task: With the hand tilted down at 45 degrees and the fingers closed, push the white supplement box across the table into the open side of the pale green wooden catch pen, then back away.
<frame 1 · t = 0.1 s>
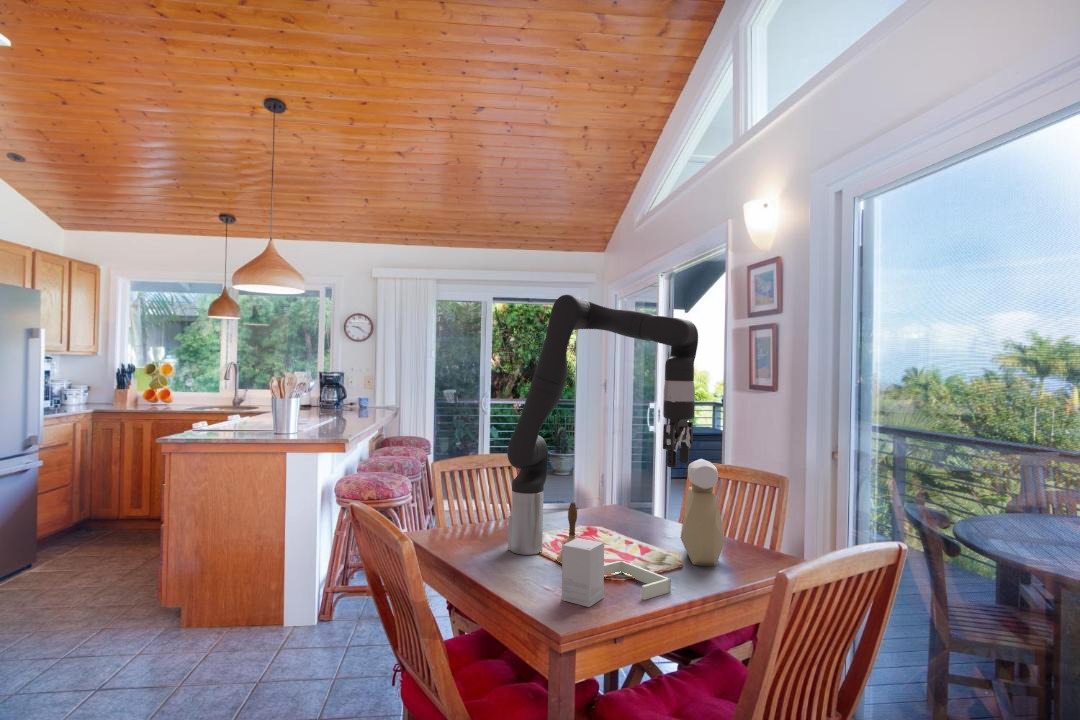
hand: (678, 464, 144), 29 cm above the table, tool pointing down, fingers open, 8 cm apart
catch pen: (626, 586, 141), on the table
perfume bottle: (702, 560, 163), on the table
supplement box: (582, 600, 133), on the table
hand bell: (571, 561, 160), on the table
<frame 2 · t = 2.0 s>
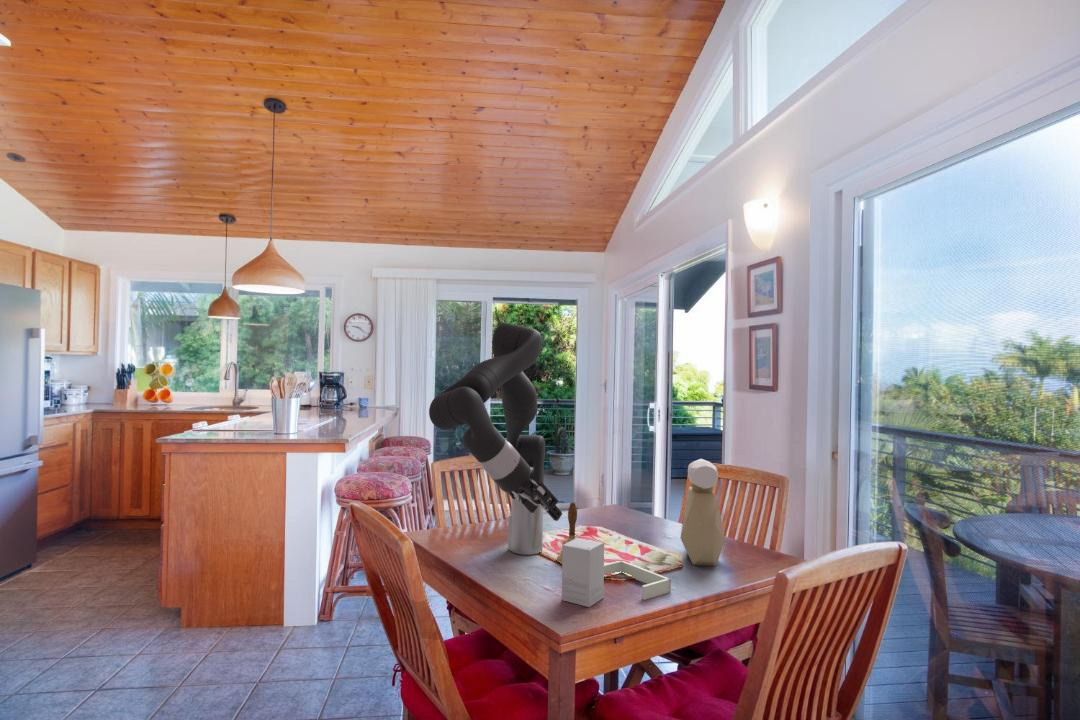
hand: (546, 513, 126), 21 cm above the table, tool tilted 45°, fingers open, 8 cm apart
nothing on the table moved.
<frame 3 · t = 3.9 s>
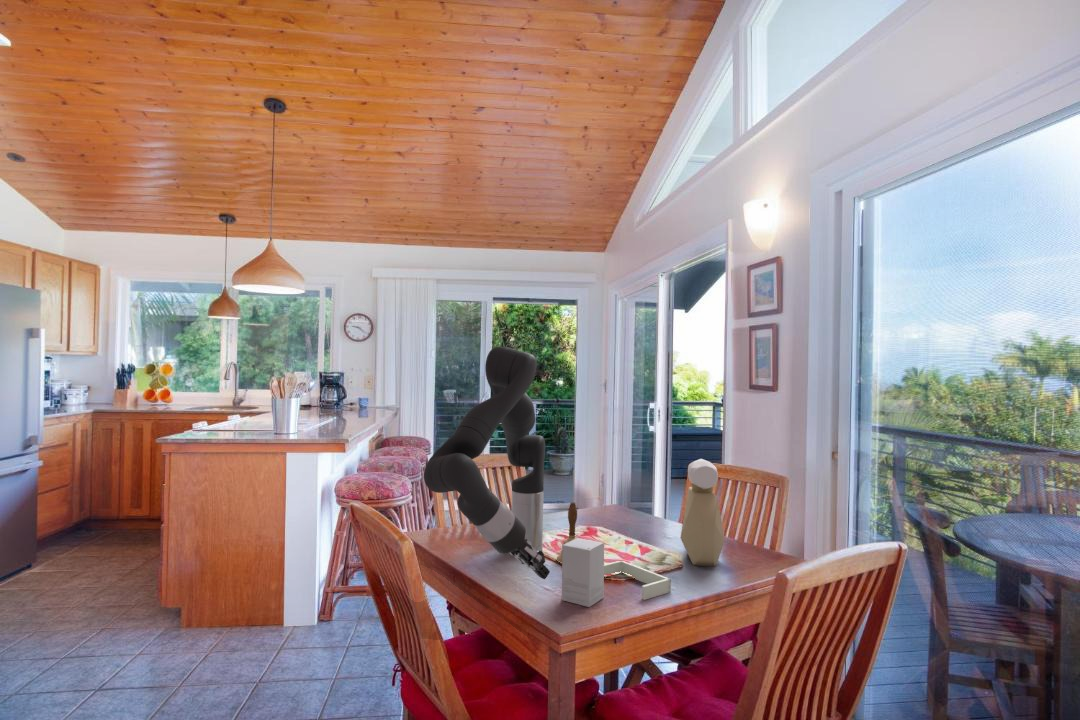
hand: (545, 574, 126), 8 cm above the table, tool tilted 45°, fingers closed
nothing on the table moved.
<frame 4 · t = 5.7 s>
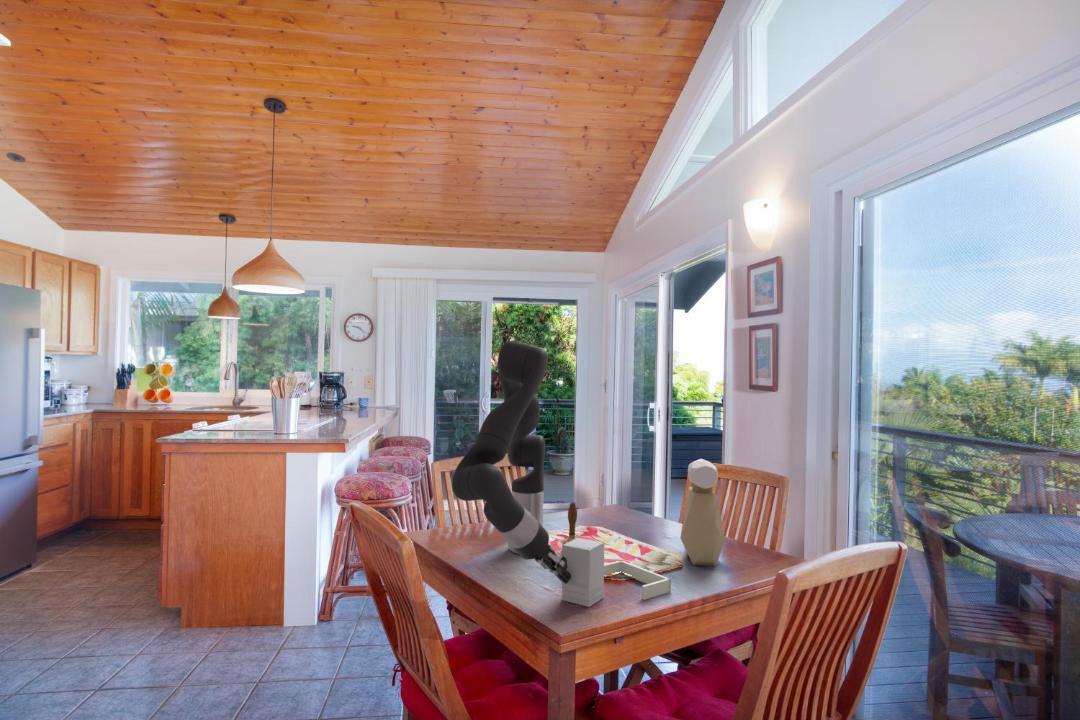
hand: (567, 579, 130), 5 cm above the table, tool tilted 45°, fingers closed
supplement box: (582, 599, 133), on the table, touching gripper
everything else where it was.
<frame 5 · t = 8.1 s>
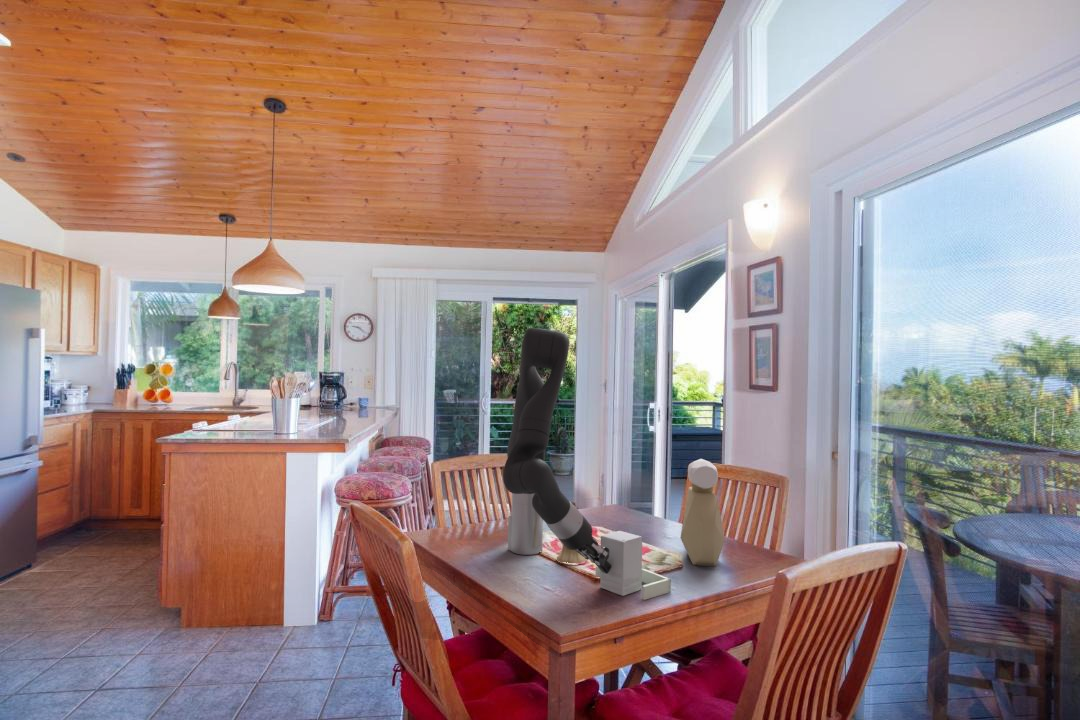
hand: (607, 569, 137), 5 cm above the table, tool tilted 45°, fingers closed
supplement box: (620, 589, 140), on the table, touching gripper
everything else where it was.
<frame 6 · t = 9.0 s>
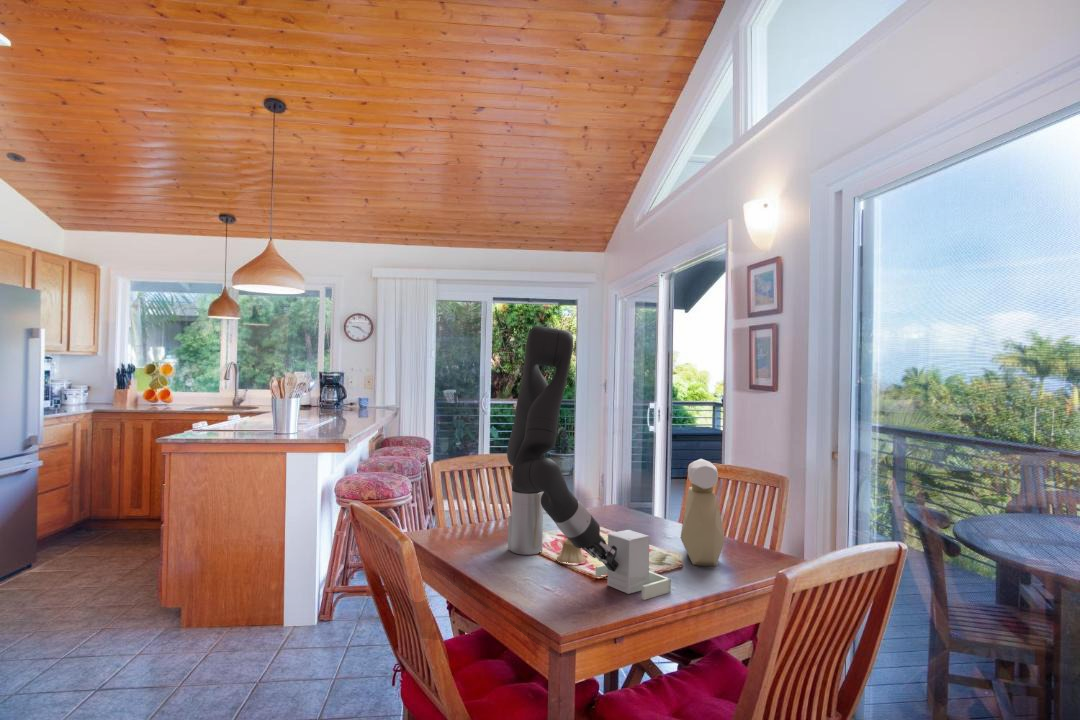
hand: (614, 567, 139), 5 cm above the table, tool tilted 45°, fingers closed
supplement box: (627, 587, 141), on the table, touching gripper
everything else where it was.
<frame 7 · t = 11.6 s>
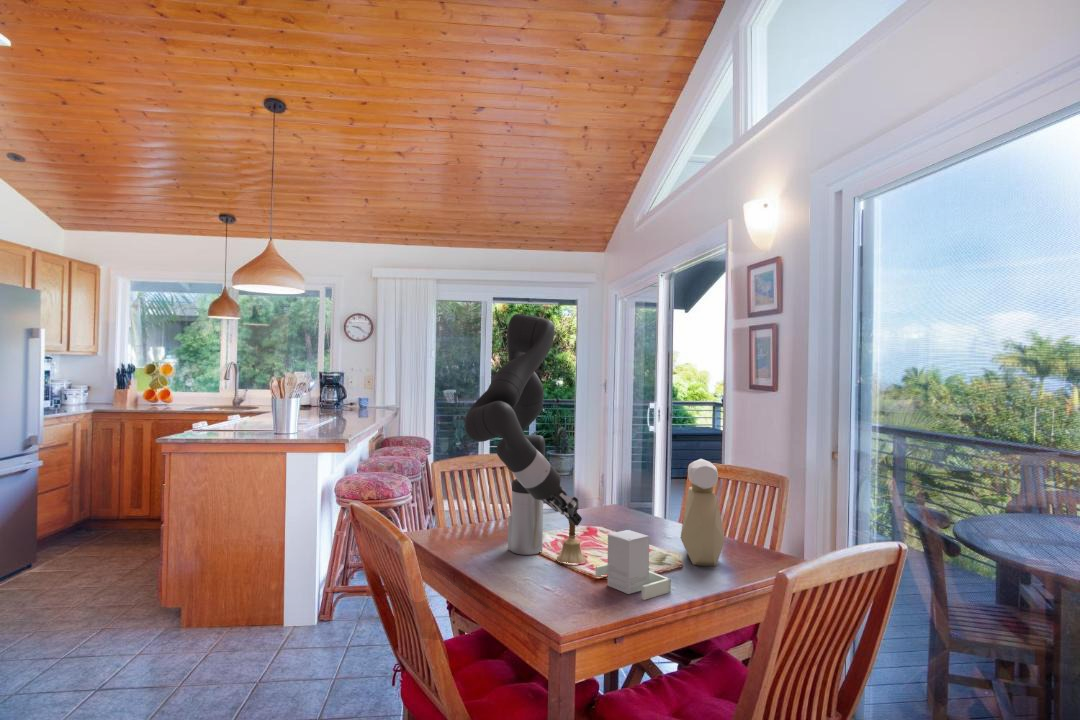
hand: (577, 521, 132), 18 cm above the table, tool tilted 45°, fingers closed
supplement box: (627, 587, 141), on the table
everything else where it was.
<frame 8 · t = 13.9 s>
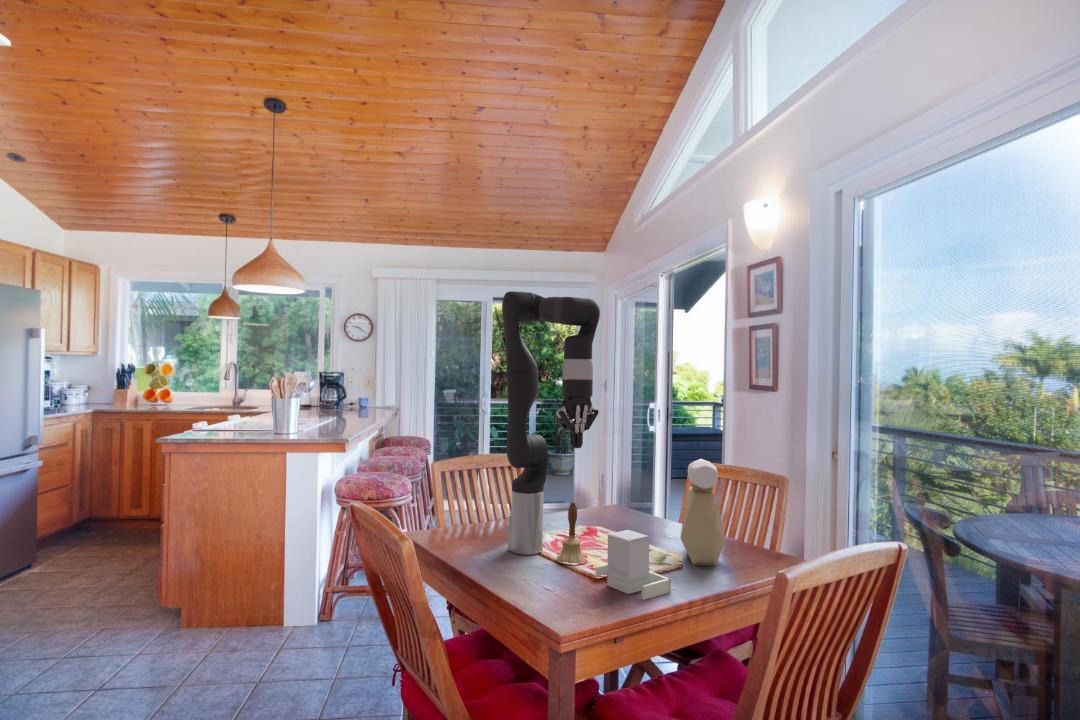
hand: (576, 447, 144), 33 cm above the table, tool pointing down, fingers closed
nothing on the table moved.
at the end: supplement box 0.3 cm from the catch pen (horizontally); supplement box tilted 0°; supplement box moved 14.1 cm from its start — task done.
